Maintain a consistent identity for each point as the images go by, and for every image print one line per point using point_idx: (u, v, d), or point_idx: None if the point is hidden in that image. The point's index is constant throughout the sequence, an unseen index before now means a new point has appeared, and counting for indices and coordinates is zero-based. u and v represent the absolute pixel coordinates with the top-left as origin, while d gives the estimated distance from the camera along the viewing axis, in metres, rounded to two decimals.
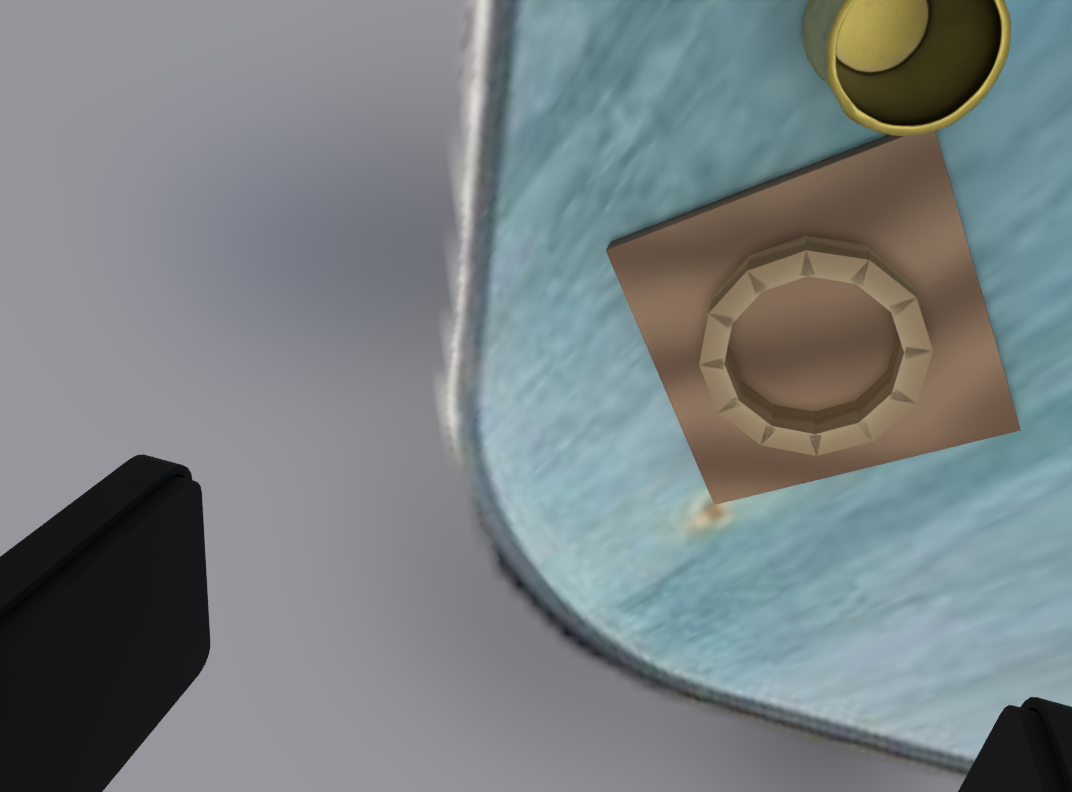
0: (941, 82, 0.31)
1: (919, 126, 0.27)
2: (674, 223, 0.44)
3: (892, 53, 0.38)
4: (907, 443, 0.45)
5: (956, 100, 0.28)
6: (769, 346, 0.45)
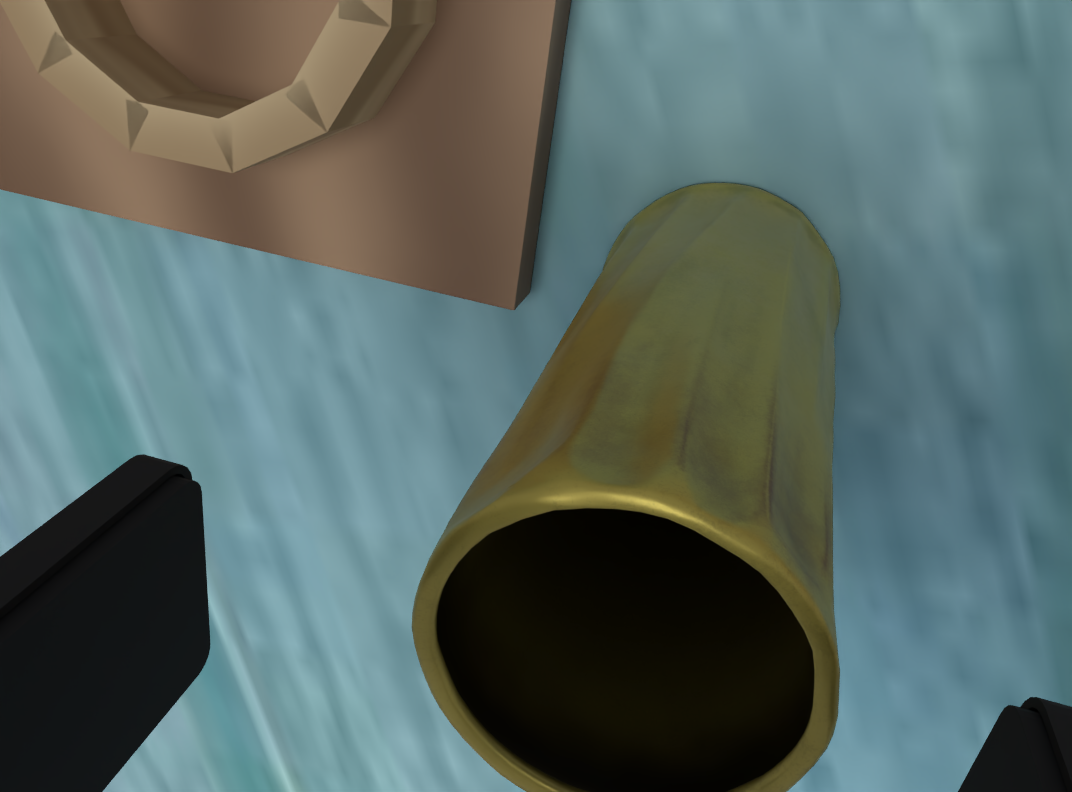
0: None
1: (439, 588, 0.11)
2: None
3: None
4: None
5: (470, 612, 0.12)
6: None
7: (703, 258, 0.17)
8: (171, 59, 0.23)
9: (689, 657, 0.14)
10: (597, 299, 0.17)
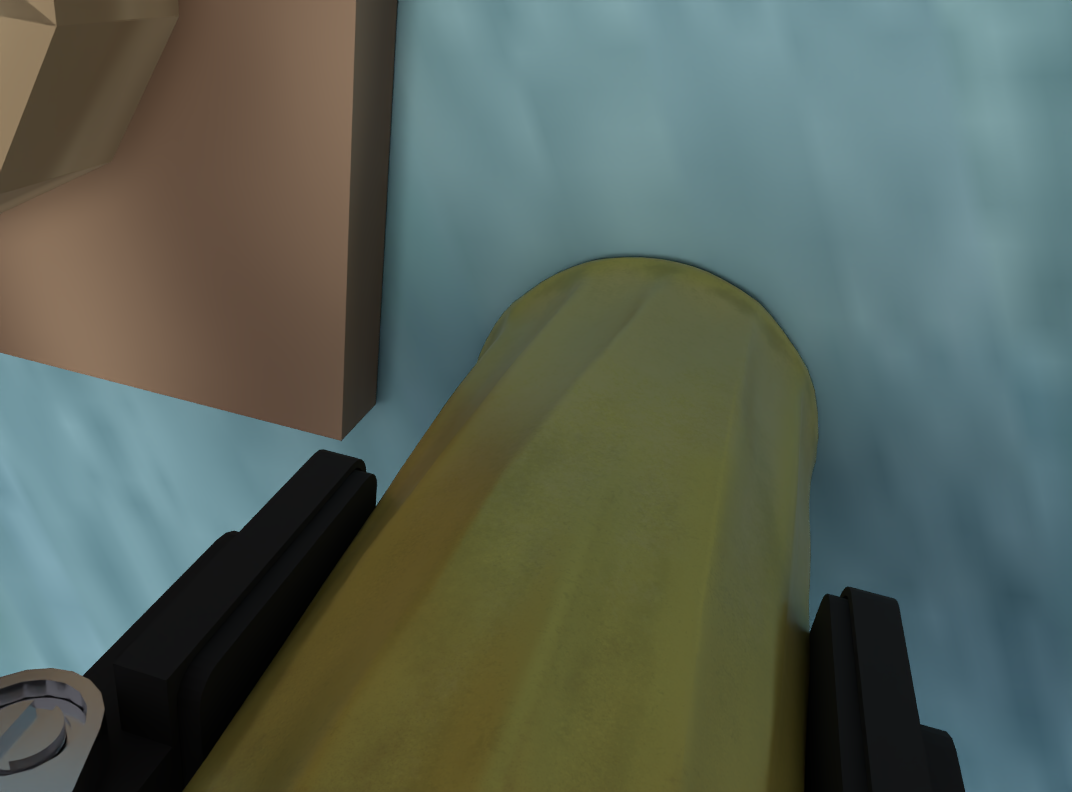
0: None
1: None
2: None
3: None
4: None
5: None
6: None
7: (576, 433, 0.10)
8: None
9: None
10: (395, 502, 0.10)
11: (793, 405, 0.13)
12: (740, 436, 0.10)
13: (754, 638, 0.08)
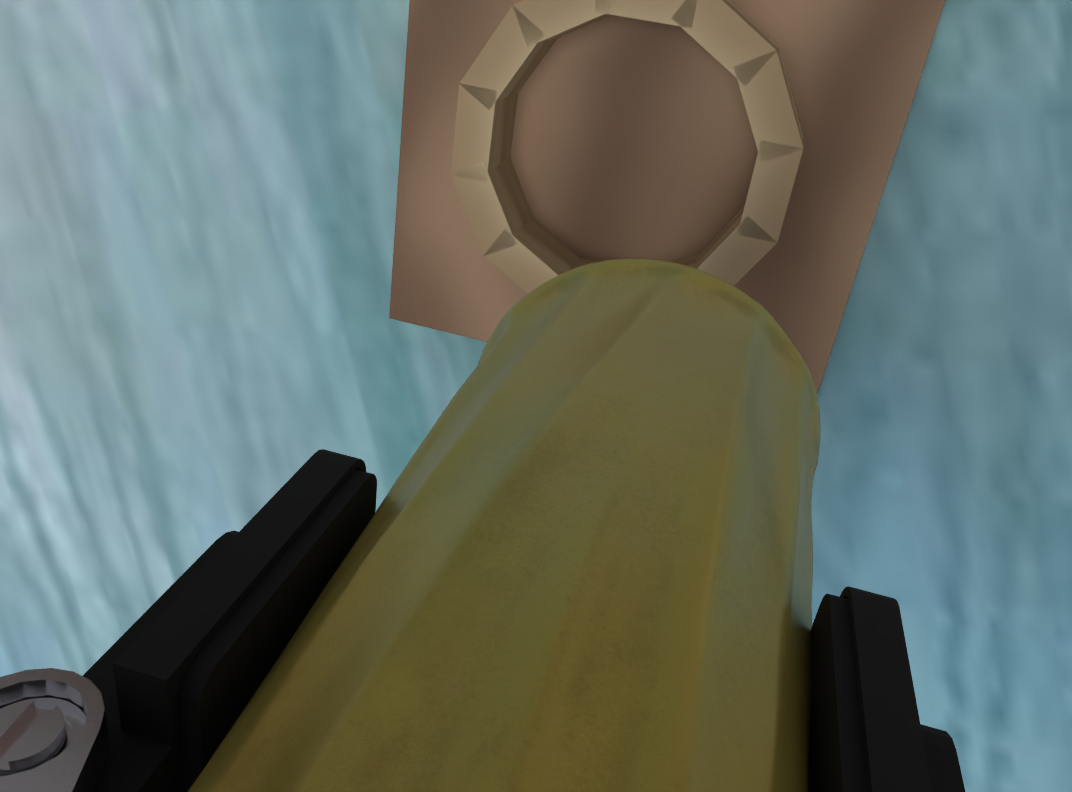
0: None
1: None
2: (927, 52, 0.25)
3: None
4: (419, 188, 0.31)
5: None
6: (650, 84, 0.28)
7: (578, 436, 0.10)
8: (558, 235, 0.30)
9: None
10: (397, 505, 0.10)
11: (795, 407, 0.13)
12: (742, 438, 0.10)
13: (757, 642, 0.08)
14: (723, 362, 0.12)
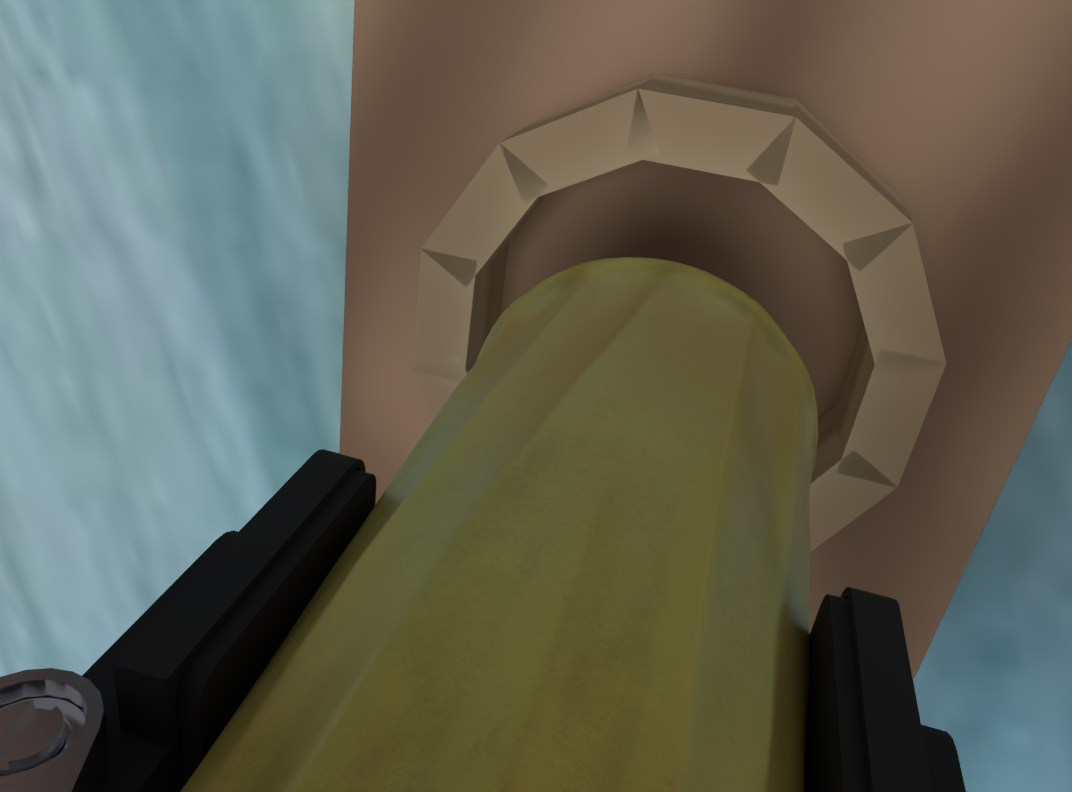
0: None
1: None
2: None
3: None
4: (372, 361, 0.22)
5: None
6: (701, 239, 0.19)
7: (575, 434, 0.09)
8: None
9: None
10: (393, 503, 0.10)
11: (793, 406, 0.13)
12: (740, 437, 0.10)
13: (753, 640, 0.08)
14: (720, 360, 0.12)
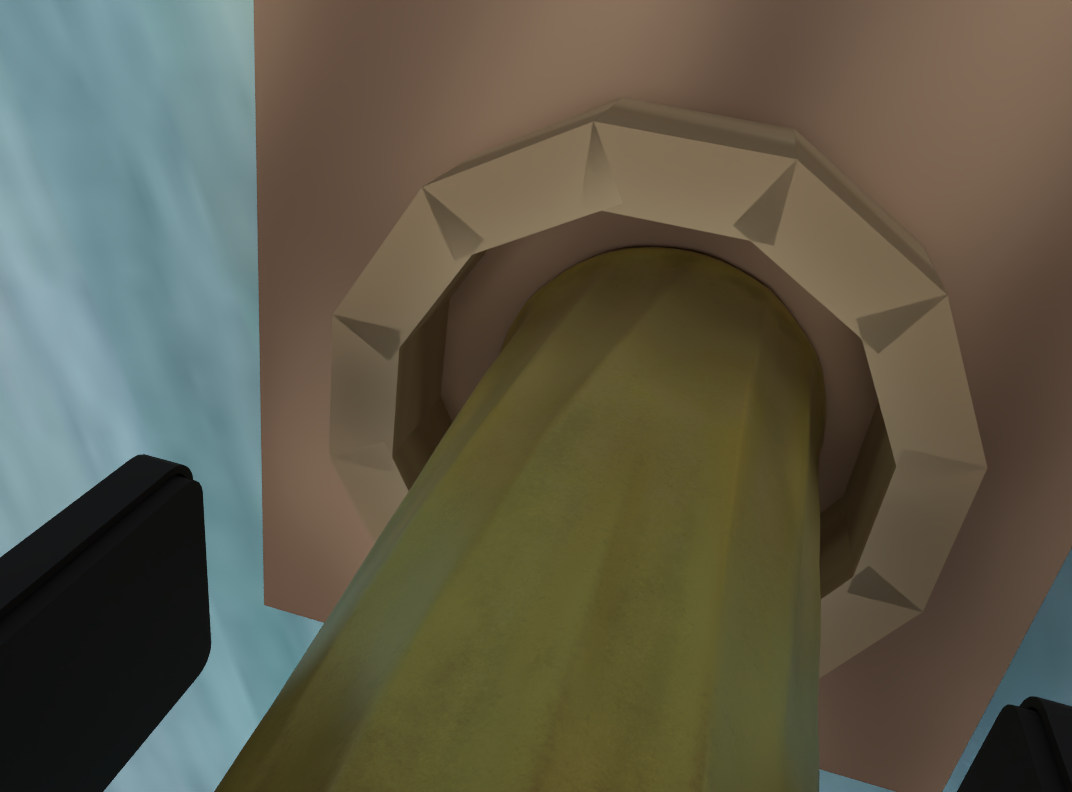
0: None
1: None
2: None
3: None
4: (295, 432, 0.19)
5: None
6: None
7: (606, 405, 0.10)
8: None
9: None
10: (439, 469, 0.11)
11: (803, 385, 0.14)
12: (755, 410, 0.11)
13: (772, 586, 0.09)
14: (736, 341, 0.13)
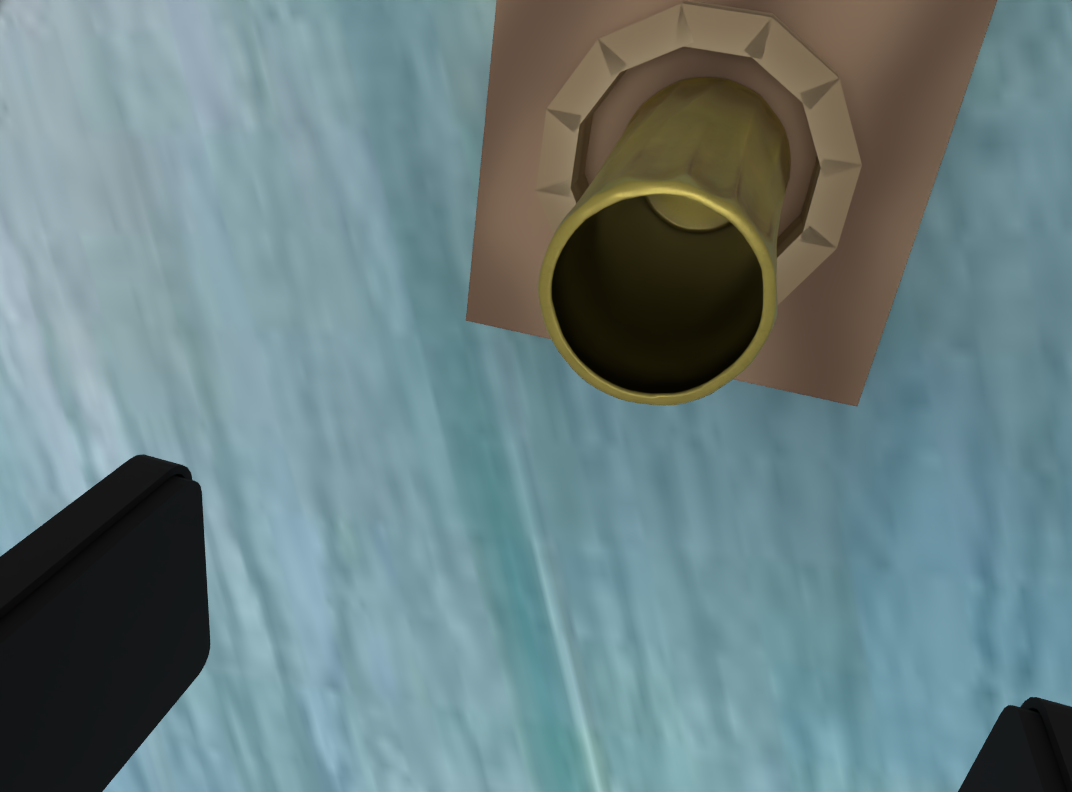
0: (595, 257, 0.24)
1: (556, 258, 0.19)
2: (969, 75, 0.28)
3: None
4: (497, 201, 0.34)
5: (564, 296, 0.21)
6: None
7: (694, 112, 0.25)
8: None
9: (693, 343, 0.22)
10: (624, 142, 0.26)
11: (777, 134, 0.29)
12: (755, 123, 0.26)
13: (762, 161, 0.24)
14: (745, 106, 0.28)
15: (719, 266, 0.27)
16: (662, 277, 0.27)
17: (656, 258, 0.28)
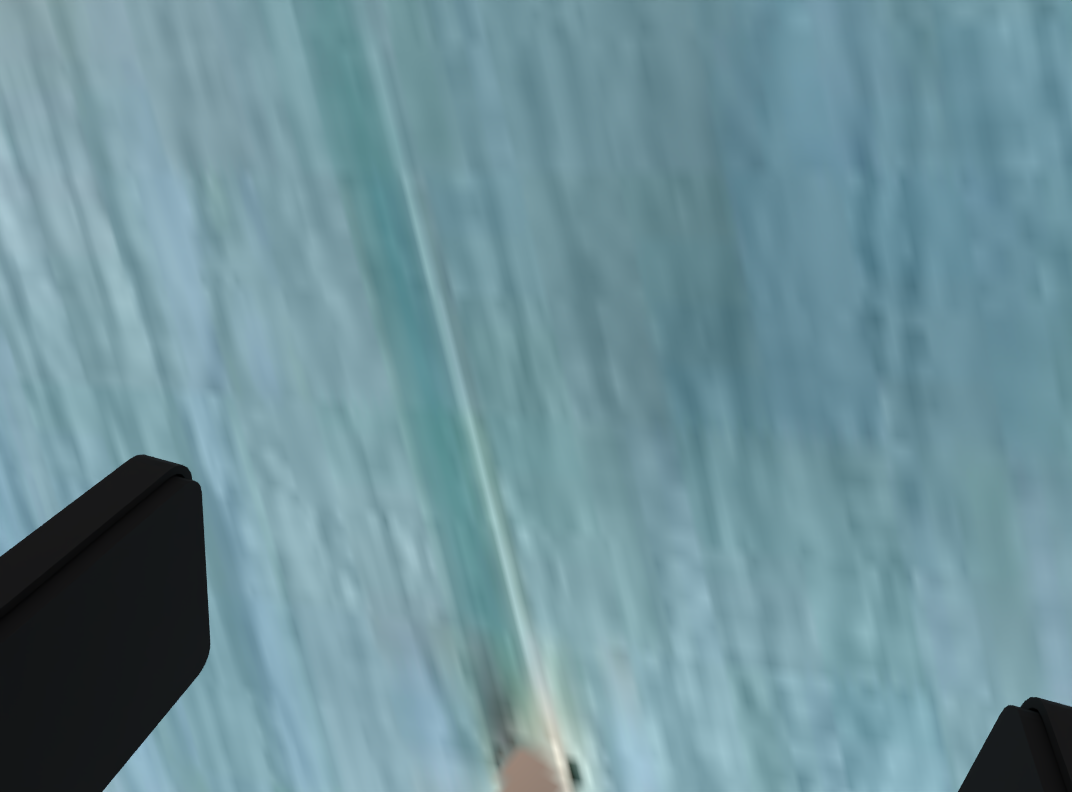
0: None
1: None
2: None
3: None
4: None
5: None
6: None
7: None
8: None
9: None
10: None
11: None
12: None
13: None
14: None
15: None
16: None
17: None
